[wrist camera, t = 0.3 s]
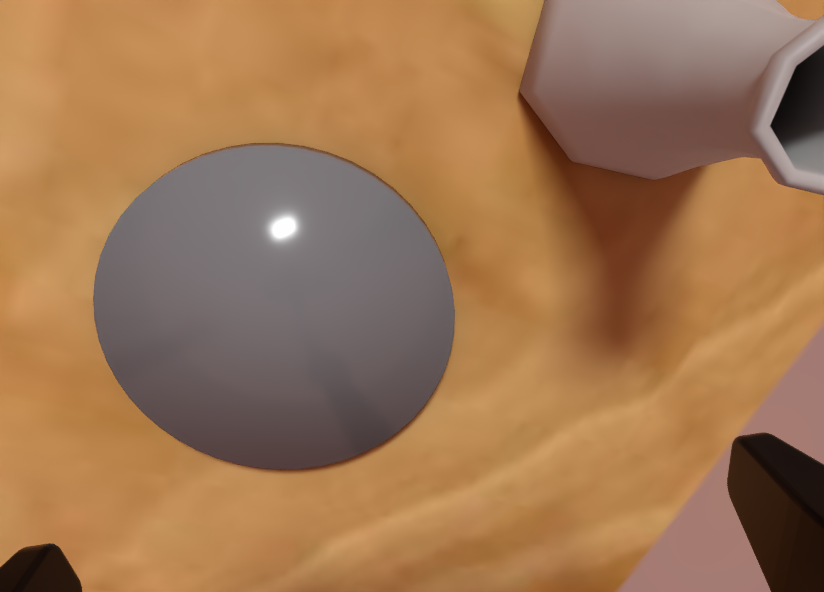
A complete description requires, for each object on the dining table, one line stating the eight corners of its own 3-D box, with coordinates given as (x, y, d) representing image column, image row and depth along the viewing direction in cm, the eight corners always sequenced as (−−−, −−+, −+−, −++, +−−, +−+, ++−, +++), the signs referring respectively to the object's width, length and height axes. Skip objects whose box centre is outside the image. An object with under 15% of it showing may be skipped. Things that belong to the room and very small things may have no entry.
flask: (622, -133, 18) (866, -259, 9) (806, 16, 20) (1158, 32, 11) (476, 99, 21) (558, 180, 12) (653, 214, 23) (842, 360, 14)
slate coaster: (476, 422, 26) (479, 435, 25) (173, 482, 26) (167, 496, 25) (416, 106, 21) (418, 110, 20) (43, 186, 21) (31, 193, 20)
